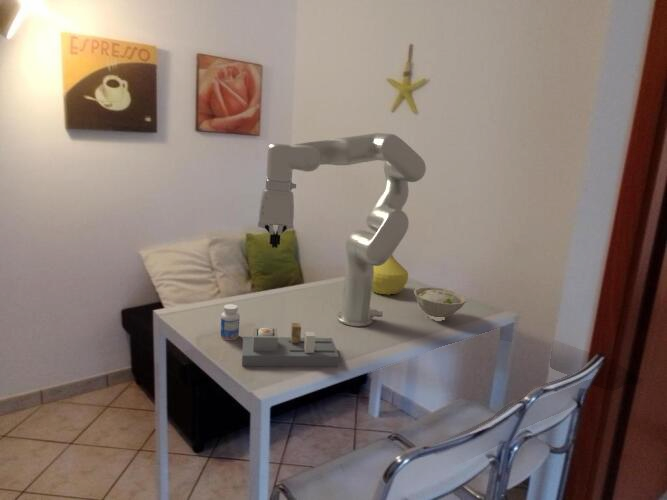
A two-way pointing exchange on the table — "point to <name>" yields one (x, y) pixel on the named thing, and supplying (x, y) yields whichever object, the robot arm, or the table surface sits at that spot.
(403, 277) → the vase
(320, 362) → the panel
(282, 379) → the table surface
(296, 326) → the lever oak
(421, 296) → the bowl
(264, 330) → the button ivory
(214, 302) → the table surface
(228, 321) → the pill bottle
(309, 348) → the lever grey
